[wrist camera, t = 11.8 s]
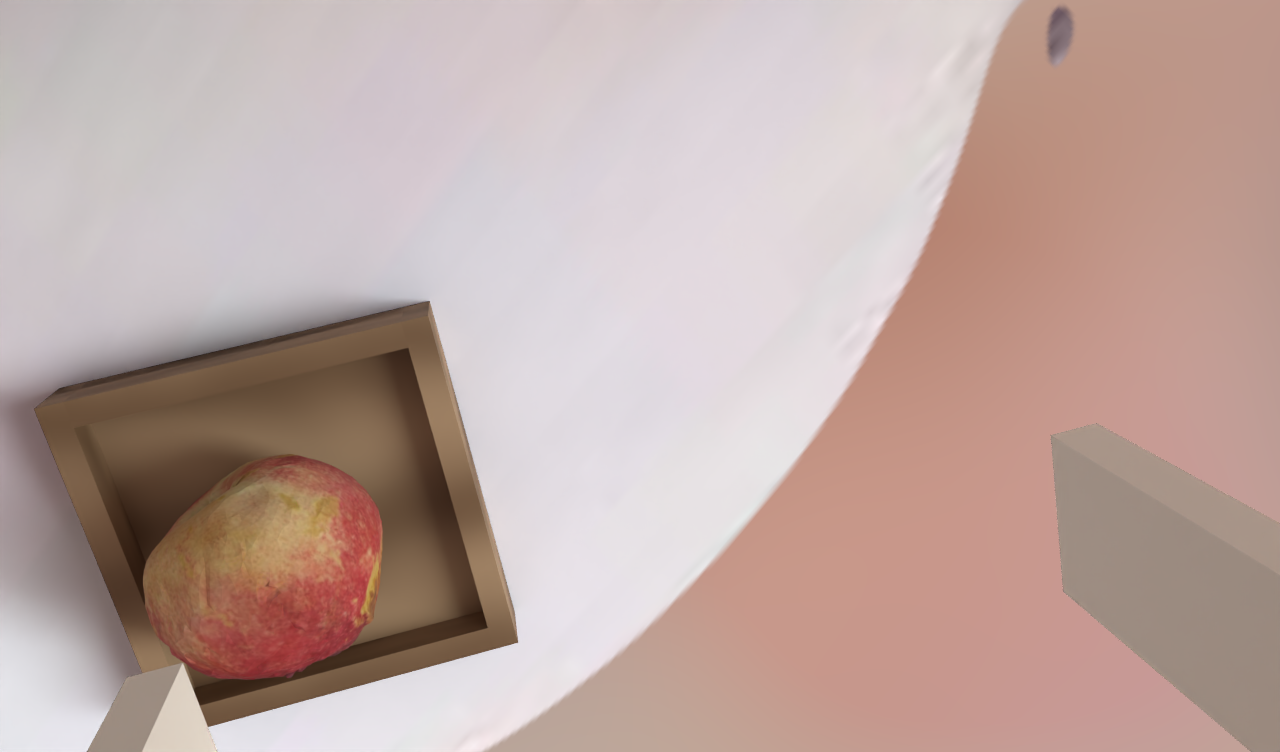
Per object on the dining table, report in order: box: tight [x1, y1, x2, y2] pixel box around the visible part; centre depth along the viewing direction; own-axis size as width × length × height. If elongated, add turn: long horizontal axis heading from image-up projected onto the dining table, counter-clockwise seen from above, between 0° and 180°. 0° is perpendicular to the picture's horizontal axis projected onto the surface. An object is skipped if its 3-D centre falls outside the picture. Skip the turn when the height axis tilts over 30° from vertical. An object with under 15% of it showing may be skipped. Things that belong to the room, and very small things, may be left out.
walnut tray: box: [34, 301, 518, 727], centre depth 40 cm, size 14×14×2 cm
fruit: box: [143, 454, 383, 680], centre depth 37 cm, size 8×8×8 cm
